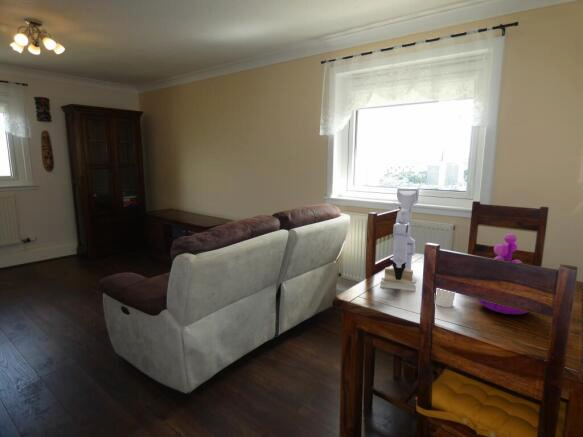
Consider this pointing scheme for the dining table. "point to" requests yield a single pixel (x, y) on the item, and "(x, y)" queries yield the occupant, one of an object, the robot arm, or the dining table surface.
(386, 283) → the track board
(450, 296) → the white cup
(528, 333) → the dining table surface
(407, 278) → the tan rectangular block
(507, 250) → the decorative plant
